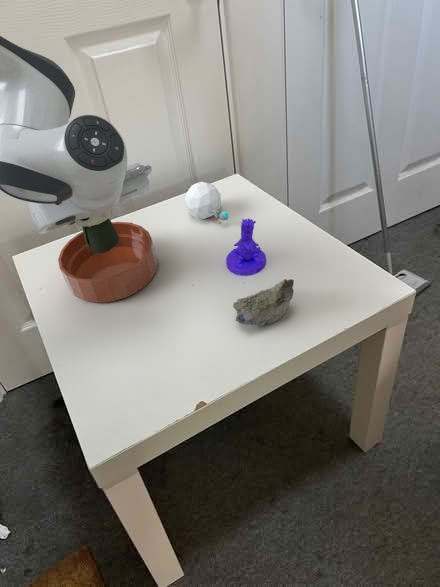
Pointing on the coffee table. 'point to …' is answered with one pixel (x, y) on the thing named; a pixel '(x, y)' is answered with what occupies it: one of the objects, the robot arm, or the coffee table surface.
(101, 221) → the character mug
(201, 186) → the faceted white ball
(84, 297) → the bowl
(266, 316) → the rock
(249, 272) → the figurine
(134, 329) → the coffee table surface
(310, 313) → the coffee table surface
